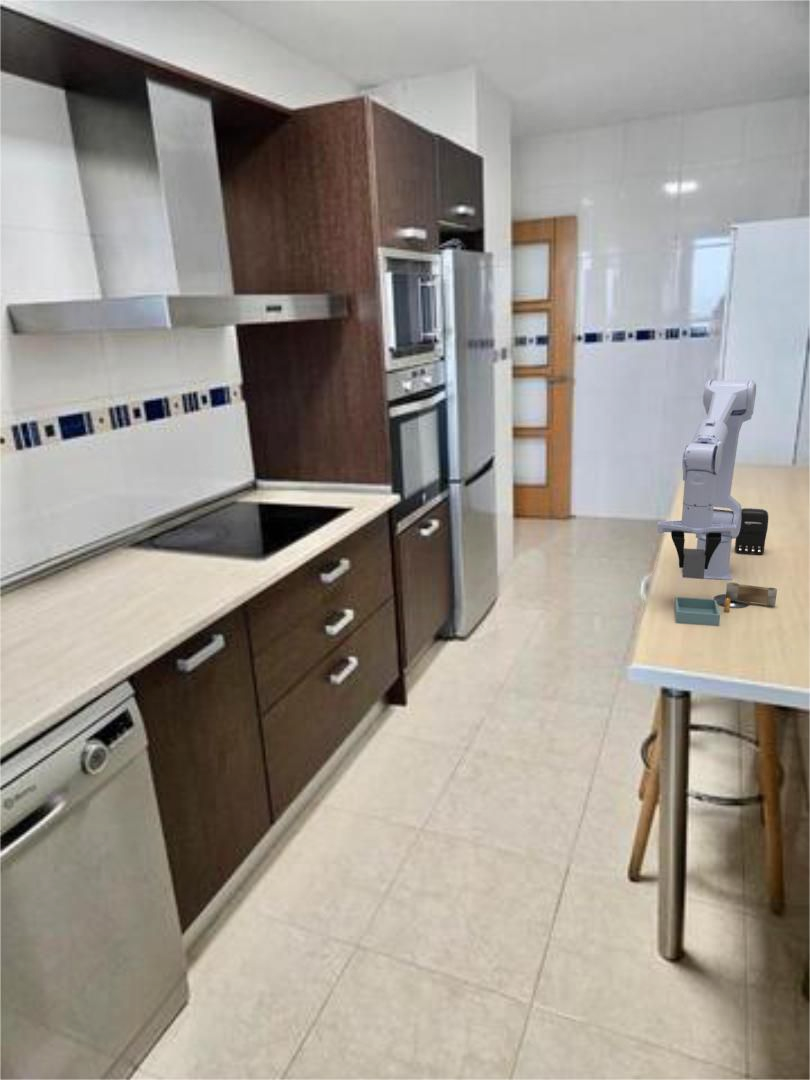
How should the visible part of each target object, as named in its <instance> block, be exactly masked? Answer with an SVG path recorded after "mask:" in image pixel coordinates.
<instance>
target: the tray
mask: <svg viewBox="0 0 810 1080" xmlns="http://www.w3.org/2000/svg"><path fill="white" fill-rule="evenodd" d="M713 599H714V598H713ZM713 599H712V598H711V599H709V598H697V597H682V596H681V597H680V596H675V597H674V614H675V615H674V616H675V623H676V624H684V625H685V624H686V625H698V626H699V625H701V626H713V627H714V626H717V627H719V626H720V619H721V614H720V609H719V605H717V601H716V600H713Z"/></svg>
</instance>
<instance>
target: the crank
mask: <svg viewBox="0 0 810 1080" xmlns="http://www.w3.org/2000/svg"><path fill="white" fill-rule="evenodd" d="M777 593H778V589H777V588H775V587H768V586H756V585H747V584H740V583H737V582H727V583H726V591H725V594H726V598H730V599H731V600H730V601H745V602H750V603H753V604H755V603H756V604H761V605H766V606H775V605H776V602H777Z"/></svg>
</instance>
